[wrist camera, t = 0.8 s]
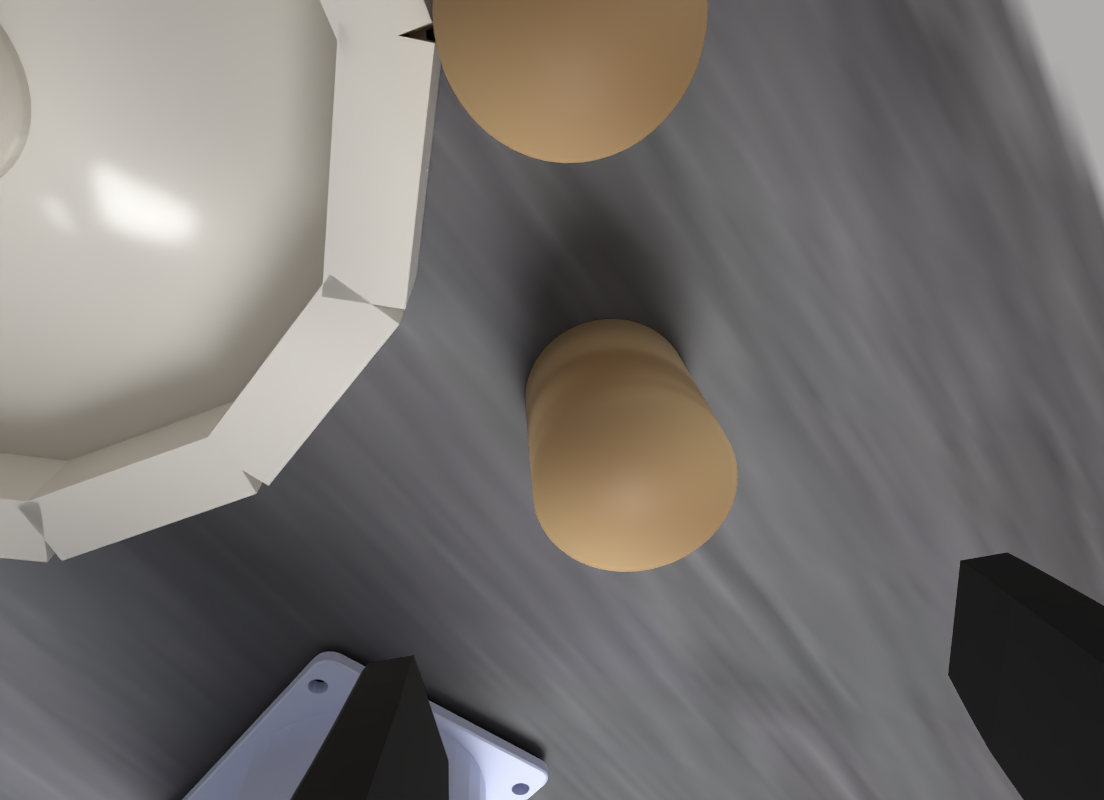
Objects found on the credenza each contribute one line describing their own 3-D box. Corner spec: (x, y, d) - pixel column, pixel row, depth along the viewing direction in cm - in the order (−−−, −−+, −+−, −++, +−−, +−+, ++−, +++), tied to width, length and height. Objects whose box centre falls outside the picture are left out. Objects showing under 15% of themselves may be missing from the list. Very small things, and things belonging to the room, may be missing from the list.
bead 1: (561, 173, 15) (582, 215, 11) (407, 36, 14) (376, 35, 10) (694, 13, 14) (763, 4, 10) (540, -152, 13) (557, -228, 9)
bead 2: (611, 492, 18) (638, 602, 15) (491, 406, 17) (490, 504, 14) (720, 384, 17) (779, 474, 14) (601, 284, 16) (632, 355, 12)
